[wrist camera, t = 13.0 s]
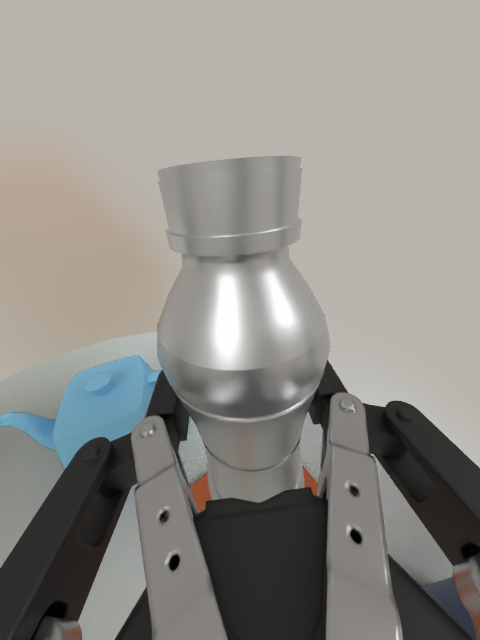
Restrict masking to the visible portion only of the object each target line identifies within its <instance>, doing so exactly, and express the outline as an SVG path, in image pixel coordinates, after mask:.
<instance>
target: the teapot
mask: <svg viewBox="0 0 480 640" xmlns="http://www.w3.org/2000/svg"><path fill="white" fill-rule="evenodd" d="M161 371H162V370H157V371H153V370H152V369H151V367H150V366H149V365H148V364H147V363H146V362H145V361H144V360H143V359H142V358H141V357H140V356H138V355H134V356H130V357H126V358H123V359H119V360H116V361H112V362H109V363H106V364H103V365H100V366H97V367H93V368H91V369H88V370H85V371H82V372H80V373H77V374H76V375H75V376H74V377H73V378H72V380H71V381H70V383H69V385H68V387H67V389H66V391H65V393H64V395H63V398H62V400H61V403H60V405H59V409H58V413H57V416H56V420H53V419H48V418H44V417H41V416H38V415H34V414H30V413H23V412H13V413H7V414H2V415H0V426H7V427H13V428H16V429H19V430H21V431H23V432H25V433H27V434H28V435H29V436H31V437H32V438H33V439H34V440H36V441H37V442H38V443H39V444H41V445H42V446H44V447H46V448H48V449H52V450H57V452H58V455H59V458H60V460H61V462H62V465H63V467H64V468H65V469H66V467H67V466H68V464H69V463H70V461H71V460H72V458H73V457H74V455H75V454H76V452H77V451H78V450H79V449H80V448H81V447H82V446H83V445H84V444H85V443H87V442H88V441H90V440H92V439H94V438H97V437H105V438H107V439H108V440H109V441H113V440H115V439H117V438H120V437H122V436H124V435H127V434H129V433H131V432H132V431H133V429H134V427H135V426H136V425H137V424H138V423H139V422H140V421H141V420H143V419H144V418H145V416H146V413H147V410H148V406H149V403H150V400H151V397H152V394H153V391H154V388H155V384H156V381H157V378H158V375H159V373H160V372H161Z"/></svg>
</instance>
